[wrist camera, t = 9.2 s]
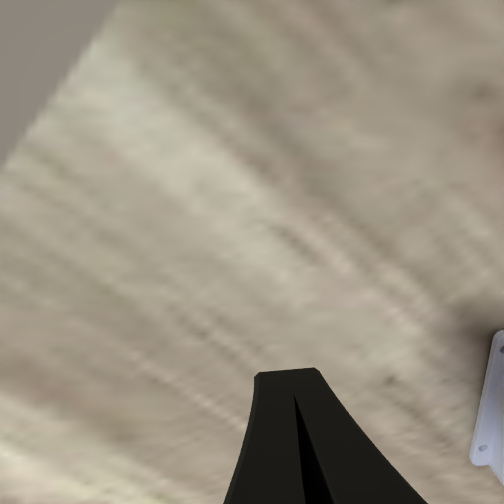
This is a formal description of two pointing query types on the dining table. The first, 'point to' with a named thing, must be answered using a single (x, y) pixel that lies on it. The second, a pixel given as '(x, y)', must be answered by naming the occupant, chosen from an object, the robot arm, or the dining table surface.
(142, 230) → the dining table surface
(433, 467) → the dining table surface
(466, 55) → the dining table surface
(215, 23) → the dining table surface
